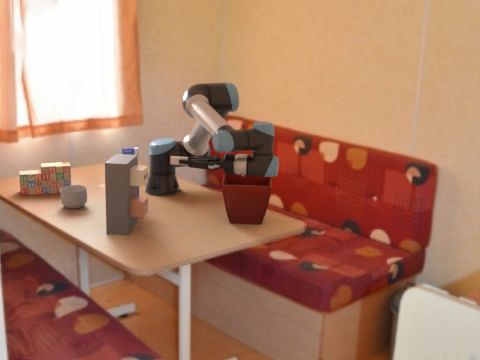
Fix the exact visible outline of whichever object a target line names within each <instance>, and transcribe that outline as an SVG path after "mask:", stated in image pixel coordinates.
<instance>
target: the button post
mask: <svg viewBox="0 0 480 360" xmlns="http://www.w3.org/2000/svg"><path fill="white" fill-rule="evenodd" d="M134 165H135V166H139V157H138V158H137V155H128V154H122V153H116V154H114V155H113V156H112V157H111V158H109V159H108V160H106V161H105V162H104V177H105V178H104V181H105V183H104V186H105V188H104V190H105V229H106V230H105V231H106V235H115V236H117V235H118V236H127V237H128V236H129V235H130V234H131V233H132V231H133V230H134V229H135V227H137V225H138V224H139V217H130V200H131V199H132V198H133V197H134V196H137V197H138V186H130V168H131V167H133V166H134Z"/></svg>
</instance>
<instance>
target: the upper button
mask: <svg viewBox="0 0 480 360" xmlns="http://www.w3.org/2000/svg"><path fill="white" fill-rule="evenodd" d="M148 177H149V166H146V165H138V166H135V165H134V166H133V167H131V168H130V186H139V187H144V186H146V183H147V182H148Z"/></svg>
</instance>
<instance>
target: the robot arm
mask: <svg viewBox="0 0 480 360" xmlns="http://www.w3.org/2000/svg"><path fill="white" fill-rule="evenodd" d="M181 104H182V108H183V111H184V112H185V113H186V114H187V115H188V117H190V118H192V119H193V118H194V119H195V120H196V122H195V124H194V126H193V128H192V130H191V132H190V133H189V134H187V135H186V136H185V137H184V139H183V140H180V141H179V140H176V138H174V137H168V138H167V137H165V138H158V139H155V140H152V141H151V142H150V143H149V148H148V149H149V150H148V154H149V155H148V156H149V159H148V160H149V166H148V182H147V183H146V184H145V192H146V193H147V194H149V195H153V196H171V195H175V194H178V193H179V192H180V183H179V180H178V177H177V174H176V172H177V171H176V170H177V169H176V168H184V167H185V168H186V167H188V168H193V169H199V170H206V171H211V172H213V171H214V170H216V171H217V170H219V169H223V175H224V174H231V175H233V174H234V173H235V174H236V175H242V176H243V177H244V175H250V176H261V177H271V178H275V177H278V174H279V173H278V172H279V164H280V163H279V161H280V160H279V156H276V155H274V147H275V146H274V145H275V144H274V143H275V125H274V124H273V123H272V122H270V121H256V122H254V123H253V124H252V128H243V129H242V128H241V129H235V128H234V127H232V126H231V124H230V123H228V122H227V120H226V119H225V118H226V117H228V115H229V113H230V112H231V113H235V112H237V111H238V109H239V106H240V96H239V91H238V88H237V86H236V85H235V84H234V83H232V82H226V81H225V82H210V83H209V82H208V83H196V84H193V85H191V86H189V87H188V88H187V89H186V90H185V92H184V93H183V95H182V99H181ZM211 138H212V146H213V150H215V152H217V153H225V154H224V157H220V156H219V155H218V154H217V155H210V154H211V147H210V144H209V142H210V141H211ZM247 151H251V154H248V153H247V154H246V153H237V154H235V152H247Z"/></svg>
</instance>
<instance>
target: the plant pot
mask: <svg viewBox="0 0 480 360" xmlns="http://www.w3.org/2000/svg"><path fill="white" fill-rule="evenodd" d="M272 183H273V182H272V177H261V176H250V175H244V177H243V176H242V175H236V174H235V173H234V174H233V175H231V174H224V173H223V179H222V183H221V188H222V189H221V190H222V196H223V203H224V208H225V212H226V215H227V220H228V222H229V223H230V224H240V225H241V224H243V225H262V224H263V222H264V220H265V216H266V214H267V211H268V206H269V204H270V199H271V193H272V187H273V184H272Z"/></svg>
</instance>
